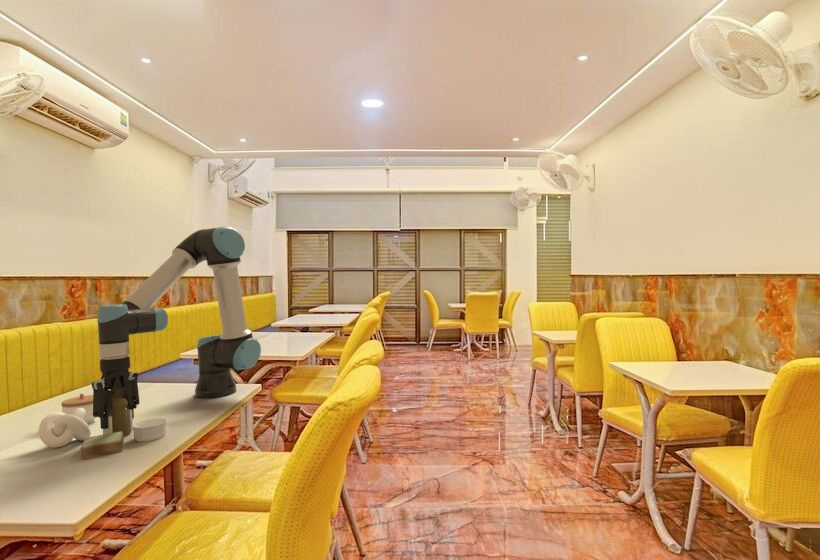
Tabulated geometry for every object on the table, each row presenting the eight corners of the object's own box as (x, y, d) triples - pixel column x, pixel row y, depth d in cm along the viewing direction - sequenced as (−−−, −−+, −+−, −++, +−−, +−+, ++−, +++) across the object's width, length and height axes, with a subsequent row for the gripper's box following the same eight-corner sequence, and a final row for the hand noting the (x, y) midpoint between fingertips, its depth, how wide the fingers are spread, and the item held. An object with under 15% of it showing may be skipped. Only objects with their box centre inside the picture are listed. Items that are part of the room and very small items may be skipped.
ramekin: (135, 435, 135) (134, 420, 135) (169, 430, 138) (168, 416, 138) (130, 445, 127) (129, 429, 127) (166, 439, 130) (165, 424, 130)
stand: (123, 441, 130) (123, 430, 130) (122, 451, 122) (121, 440, 122) (85, 448, 125) (84, 437, 125) (80, 459, 117) (80, 447, 117)
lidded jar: (81, 428, 143) (80, 398, 143) (53, 427, 145) (52, 398, 145) (110, 417, 154) (109, 390, 153) (84, 417, 156) (82, 389, 156)
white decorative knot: (105, 436, 135) (103, 406, 135) (67, 451, 123) (65, 418, 123) (73, 434, 137) (72, 405, 137) (33, 450, 126) (31, 417, 126)
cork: (104, 436, 135) (102, 399, 135) (127, 430, 139) (125, 394, 139) (109, 440, 131) (107, 402, 131) (133, 434, 135) (131, 397, 135)
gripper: (132, 351, 145) (135, 423, 145) (73, 363, 126) (77, 446, 127) (151, 351, 143) (154, 424, 143) (94, 363, 124) (98, 447, 125)
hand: (118, 434), depth 135 cm, fingers open, 6 cm apart
